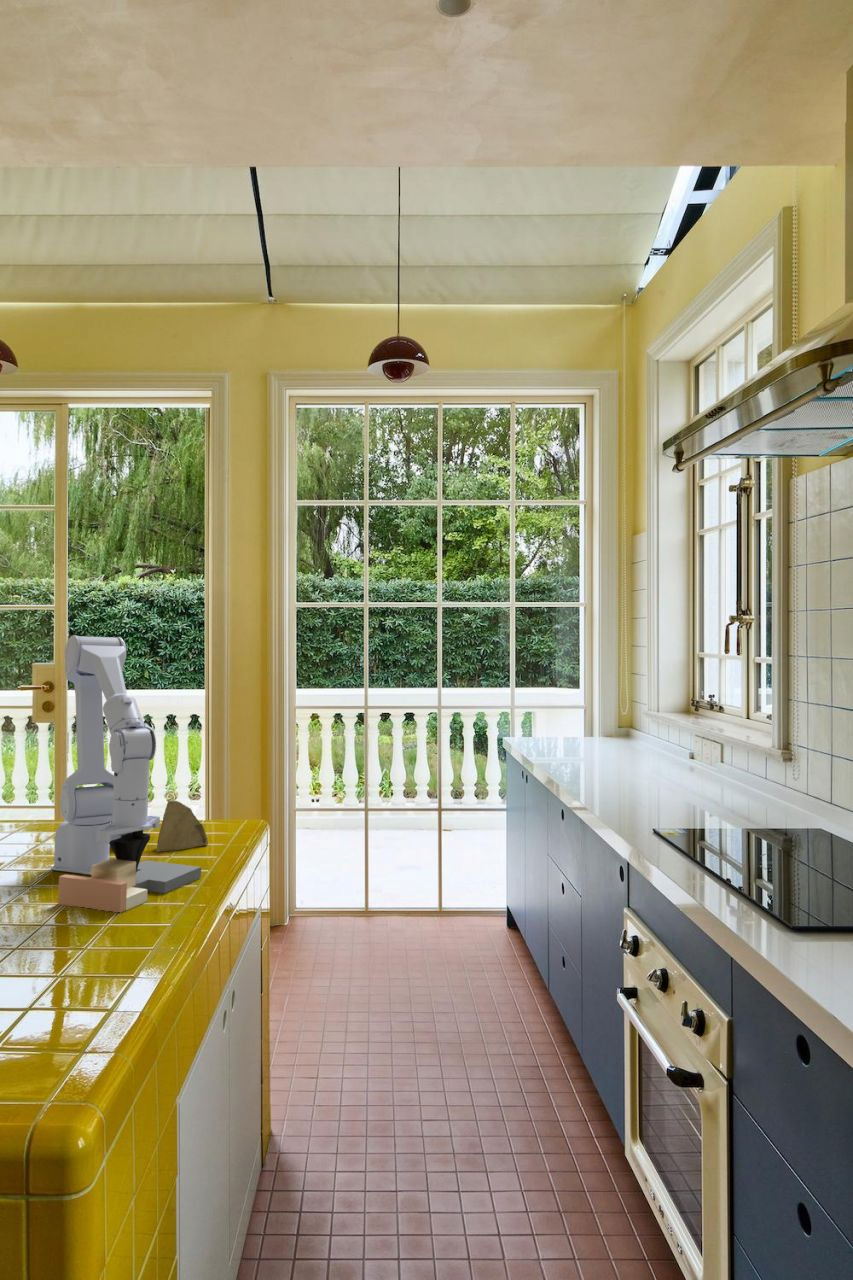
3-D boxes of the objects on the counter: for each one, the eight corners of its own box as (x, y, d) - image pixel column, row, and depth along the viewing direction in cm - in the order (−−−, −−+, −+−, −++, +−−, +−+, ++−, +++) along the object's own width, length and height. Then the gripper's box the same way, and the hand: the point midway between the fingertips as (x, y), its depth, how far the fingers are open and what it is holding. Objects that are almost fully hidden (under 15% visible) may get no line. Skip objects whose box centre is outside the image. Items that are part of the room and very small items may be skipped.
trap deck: (58, 904, 137) (59, 876, 137) (145, 870, 159) (146, 847, 159) (119, 913, 134) (120, 884, 134) (200, 877, 156) (201, 853, 156)
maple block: (90, 889, 139) (91, 865, 139) (110, 882, 144) (111, 858, 144) (116, 893, 138) (116, 868, 138) (135, 885, 142) (136, 861, 142)
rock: (213, 830, 186) (168, 823, 185) (215, 804, 181) (168, 796, 180) (201, 870, 177) (153, 863, 176) (202, 843, 172) (153, 836, 171)
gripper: (123, 806, 137) (120, 890, 137) (175, 793, 151) (172, 869, 150) (87, 803, 139) (84, 885, 139) (141, 790, 153) (139, 865, 153)
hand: (127, 877), depth 145 cm, fingers closed
